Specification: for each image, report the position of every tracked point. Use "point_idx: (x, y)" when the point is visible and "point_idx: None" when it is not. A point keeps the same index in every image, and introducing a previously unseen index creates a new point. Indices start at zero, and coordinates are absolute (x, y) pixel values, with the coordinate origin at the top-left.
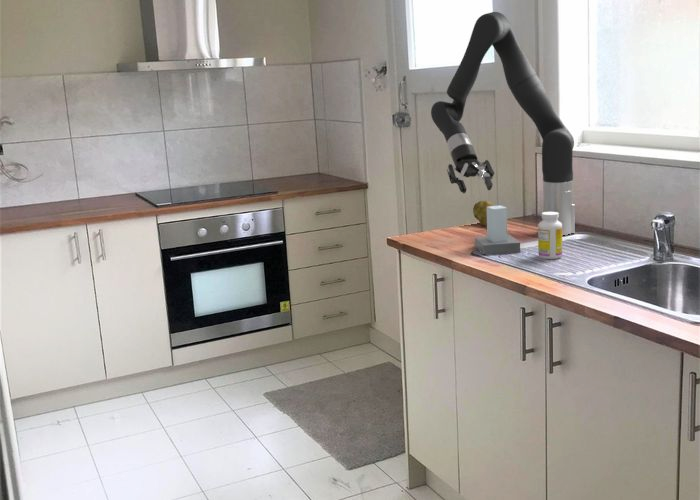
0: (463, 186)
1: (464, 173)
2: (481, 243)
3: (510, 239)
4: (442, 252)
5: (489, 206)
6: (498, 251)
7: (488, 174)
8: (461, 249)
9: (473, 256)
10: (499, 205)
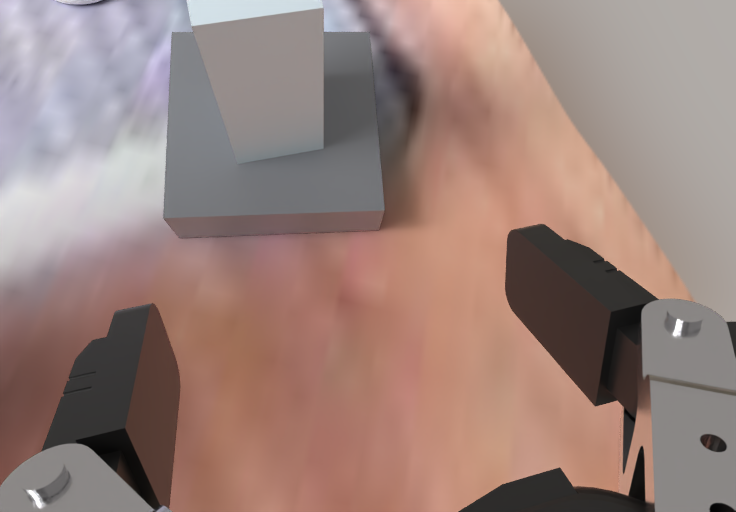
0: (565, 241)
1: (648, 392)
2: (372, 69)
3: (198, 106)
4: (551, 162)
5: (297, 8)
6: None
7: (24, 484)
8: (454, 195)
9: (414, 59)
10: (202, 20)
